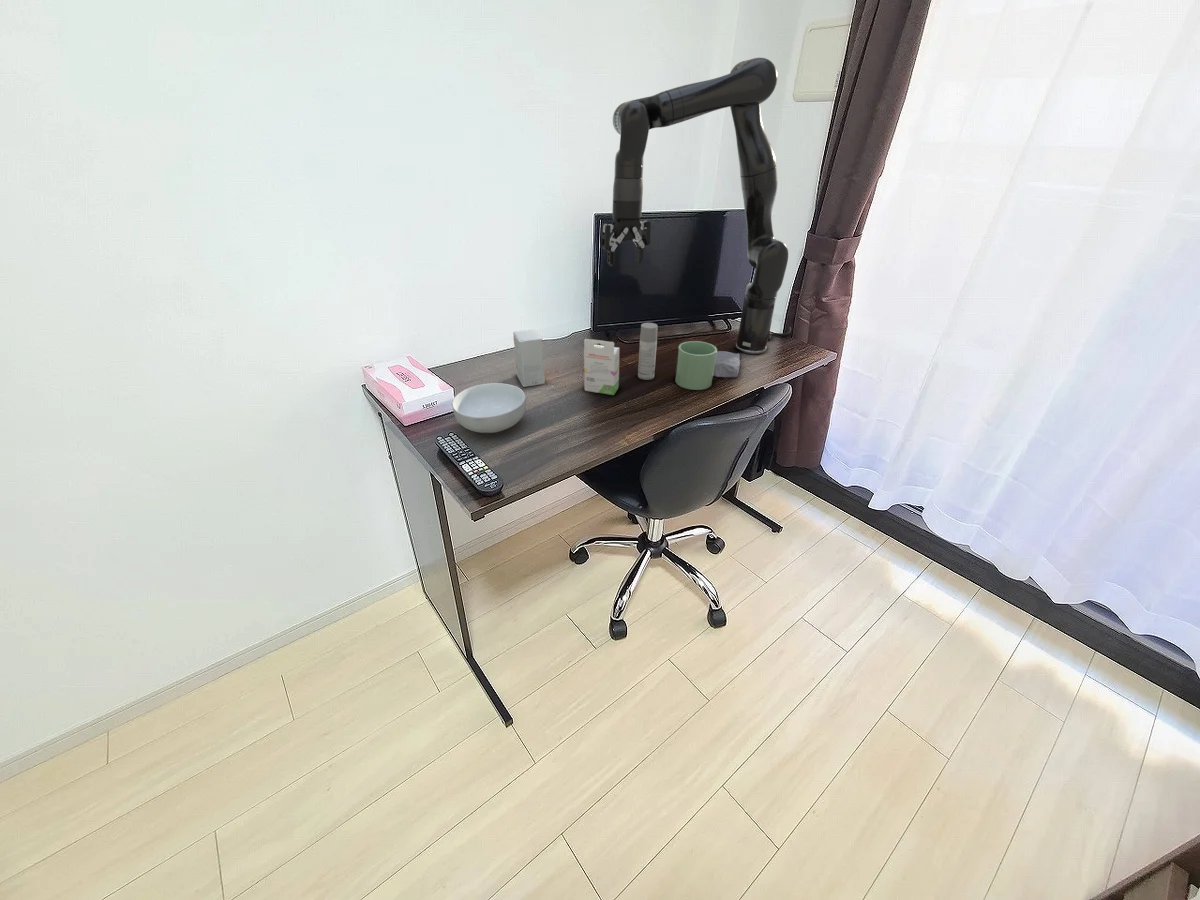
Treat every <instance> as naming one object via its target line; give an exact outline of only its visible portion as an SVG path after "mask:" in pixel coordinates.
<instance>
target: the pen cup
mask: <svg viewBox="0 0 1200 900" xmlns="http://www.w3.org/2000/svg"><path fill="white" fill-rule="evenodd" d="M717 352H718V348H717V346H715V345H714V344H712V343H709V342H705V341H699V340H690V341H684V342H681V343H679V345H678V347H677V357H676V366H675V376H674V381H675V384H676V385H677V386H679V387H680V388H683V389H685V390H691V391H702V390H707V389H710V387H712V385H713V382H714V376H713V375H714V369H715V362H716V355H717Z"/></svg>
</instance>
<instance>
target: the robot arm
mask: <svg viewBox="0 0 1200 900" xmlns="http://www.w3.org/2000/svg"><path fill="white" fill-rule="evenodd" d="M777 83H778V71H777V67H776V66H775V64H774V62H772V61H771V60H770V59H768V58H767V57H754V58H750V59H746V60H742V61H740V62H738V63H736V64H735V65H734V66H733V67H732V68H731V70H730V72H729V73H727V74H724V75H722V76H719V77H716V78H710V79H707V80H702V81H698V82H692V83H688V84H684V85H680V86H677V87H673V88H670V89H667V90H664V91H661V92H658V93H656V94H654V95H651V96H645V97H641V98H636V99H631V100H627V101H624V102H623V103H620V104H619V105H618V106H617V107H616V108H615V110H614V112H613V114H612V126H613V129H614V131H615V132H616V133H617V134H618V135H619V136H620V137H619V148H618V150H617V152H616V153H615V157H614V158H615V159H614V175H613V177H614V178H613V186H612V213H611V215H612V222H611V224H607V223H602V224H601V228H600V229H601V232H600V246H599V247H600V248H601V249H603V250H605V251H606V259H607V260H606V263H607V264H608V266H609V267H615V266H616V249H617V247H618V246H619V245H620V244H621V243H622V242H626V241H632V242H633V243H634V245H635V250H634V262H635V263H637V264H640V263H642V261H643V259H644V248H645V247H647V246H650V245H651V221H649V220H646V219H643V220H641V218H642V213H643V196H644V184H643V183H644V181H643V180H644V179H643V175H644V155H645V152H646V148H647V144H648V138H649V132H650V130H652V129H656V128H667V127H670V126H672V125H673V126H674V125H676V124H680V123H683V122H685V121H689V120H691V119H694V118H697V117H701V116H703V115H706V114H708V113H712V112H715V111H718V110H721V109H725V108H726V109H727V108H730V113H731V117H732V122H733V126H734V132H735V139H736V141H735V142H736V148H737V157H738V165H739V177H740V185H741V192H742V193H741V194H742V198H743V199H742V200H743V207H744V214H745V221H746V223H745V224H746V254H747V260H748V263H749V265H750V266H751V267H752V268H753V269H755V272H754V276H753V280H752V282H749V283H747V284H746V287H745V292H744V298H743V304H742V310H741V315H740V320H739V321H740V322H739V328H738V334H737V339H736V343H735V349H736V350H737V351H738V352H740V353H744V354H748V355H761V354H764V353H766V351H767V346H768V341H771V340H772V339H771V338H772V337H787V336H789V335H790V334H791V332H792V327H791V326H788V327H787V331H786V332H771V326H772V323H773V316H774V312H775V307H776V301H777V296H778V293H779V291H780V289H781V287H782V285H783V282H784V278H785V274H786V271H787V270H786V269H787V267H788V261H789V248H788V247H787V245H786V244H785V243H784V242H783V241H780V240H778V239H777V238H775V235H774V230H773V220H772V219H773V218H772V213H773V207H774V204H775V201H776V197H777V194H778V193H777V192H778V184H779V183H778V168H777V160H776V155H775V153H774V149H773V146H772V144H771V142H770V140H769V137H768V136H767V133H766V131H765V127H764V125H763V120H762V119H763V118H762V110H761V104H762V103H764V102H766V101H767V100H768V99H769V98H770V97H771V96H772V95H773V93H774V91H775V89H776V87H777ZM640 230H641V234H640V233H639V231H640ZM612 232H613V233H612ZM611 233H612V234H611Z"/></svg>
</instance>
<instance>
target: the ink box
mask: <svg viewBox="0 0 1200 900" xmlns="http://www.w3.org/2000/svg"><path fill="white" fill-rule="evenodd" d="M583 341H584V342H583V343H584V345H583V346H584V347H583V368H584V369H583V385H584V386H583V387H584V389H583V390H584V391H585V392H591V393H597V394H603V395H608V396H615V394H616V393H617V391H618V390H619V386H620V347H617V346H615V342H614V341H607V340H600V339H592V338H591V339H590V338H584V340H583Z"/></svg>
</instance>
